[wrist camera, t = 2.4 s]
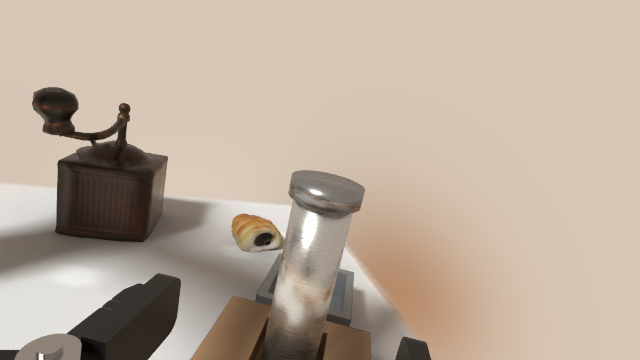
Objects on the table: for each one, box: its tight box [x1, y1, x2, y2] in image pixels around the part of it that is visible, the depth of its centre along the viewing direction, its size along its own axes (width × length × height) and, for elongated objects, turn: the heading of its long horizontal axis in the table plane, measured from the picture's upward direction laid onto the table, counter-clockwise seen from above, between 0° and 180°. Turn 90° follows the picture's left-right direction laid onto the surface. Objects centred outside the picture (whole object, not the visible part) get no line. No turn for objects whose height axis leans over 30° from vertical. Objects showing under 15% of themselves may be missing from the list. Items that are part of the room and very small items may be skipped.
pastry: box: [232, 214, 282, 252], centre depth 52 cm, size 9×7×4 cm
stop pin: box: [261, 170, 365, 360], centre depth 24 cm, size 5×5×15 cm
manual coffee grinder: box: [32, 87, 168, 242], centre depth 44 cm, size 16×11×18 cm
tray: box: [255, 254, 354, 327], centre depth 37 cm, size 9×9×4 cm
